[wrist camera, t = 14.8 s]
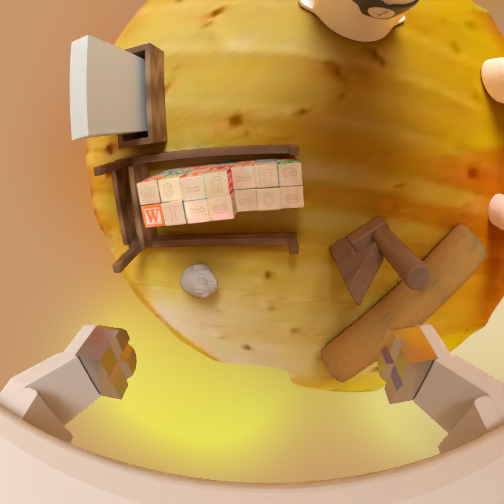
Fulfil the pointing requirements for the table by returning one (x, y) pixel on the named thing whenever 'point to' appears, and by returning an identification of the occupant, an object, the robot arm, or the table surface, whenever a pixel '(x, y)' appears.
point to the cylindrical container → (497, 211)
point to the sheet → (106, 90)
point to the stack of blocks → (220, 191)
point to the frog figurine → (199, 281)
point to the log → (406, 304)
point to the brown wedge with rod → (376, 258)
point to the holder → (150, 98)
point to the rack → (151, 238)
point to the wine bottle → (494, 78)
